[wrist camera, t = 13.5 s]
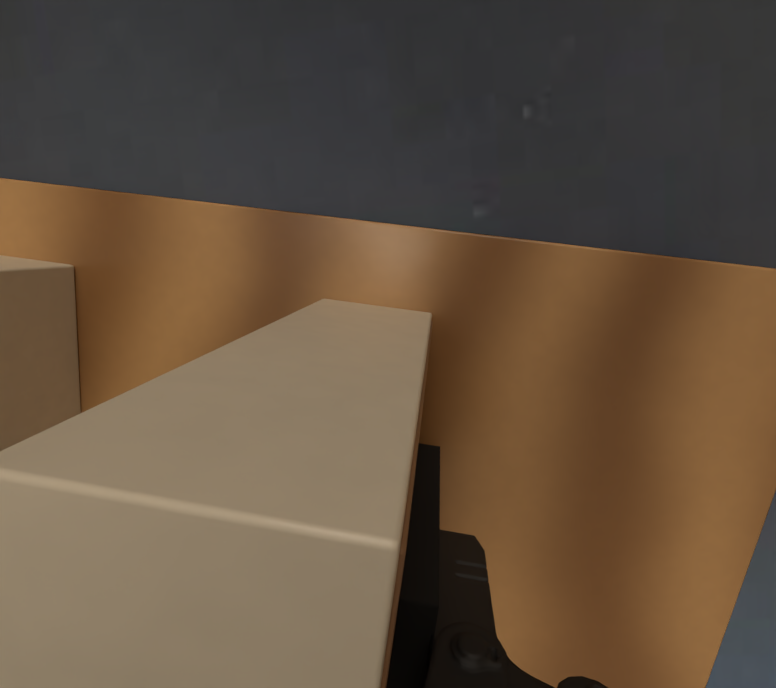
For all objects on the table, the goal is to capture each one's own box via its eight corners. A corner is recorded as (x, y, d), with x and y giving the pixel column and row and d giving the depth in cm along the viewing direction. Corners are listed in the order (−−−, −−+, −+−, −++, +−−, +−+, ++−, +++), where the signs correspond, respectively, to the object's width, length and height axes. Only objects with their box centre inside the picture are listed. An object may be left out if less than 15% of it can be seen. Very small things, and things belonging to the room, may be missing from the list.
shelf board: (817, 274, 13) (853, 277, 12) (676, 691, 17) (693, 724, 16) (-173, 158, 16) (-220, 152, 15) (-111, 535, 20) (-144, 553, 19)
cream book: (434, 312, 14) (406, 546, 3) (392, 606, 16) (300, 1282, 6) (322, 297, 14) (-39, 465, 4) (298, 588, 17) (47, 1195, 6)
